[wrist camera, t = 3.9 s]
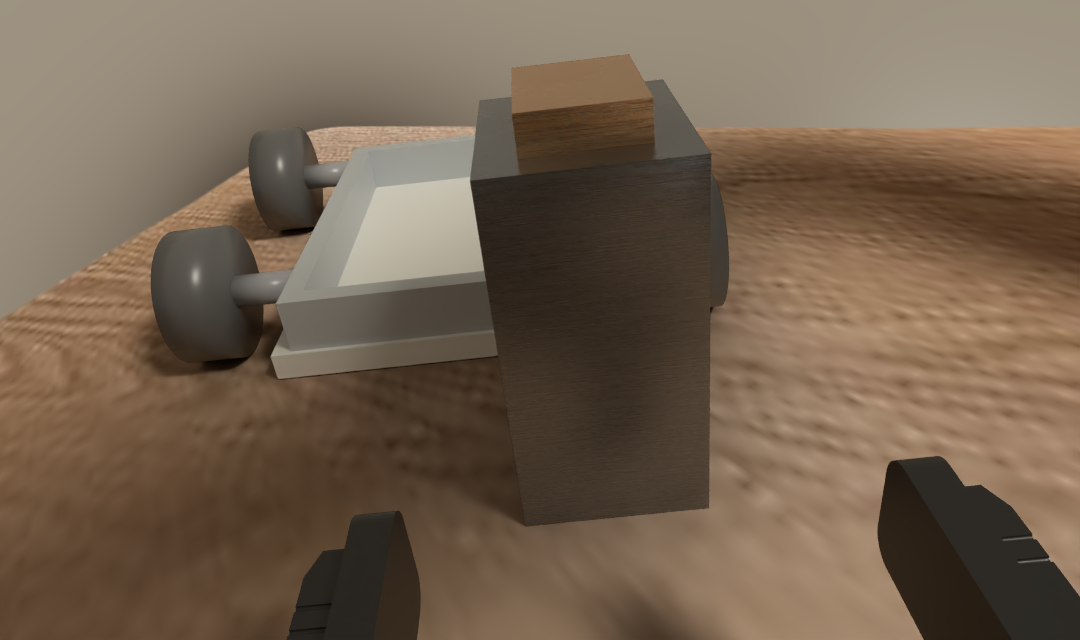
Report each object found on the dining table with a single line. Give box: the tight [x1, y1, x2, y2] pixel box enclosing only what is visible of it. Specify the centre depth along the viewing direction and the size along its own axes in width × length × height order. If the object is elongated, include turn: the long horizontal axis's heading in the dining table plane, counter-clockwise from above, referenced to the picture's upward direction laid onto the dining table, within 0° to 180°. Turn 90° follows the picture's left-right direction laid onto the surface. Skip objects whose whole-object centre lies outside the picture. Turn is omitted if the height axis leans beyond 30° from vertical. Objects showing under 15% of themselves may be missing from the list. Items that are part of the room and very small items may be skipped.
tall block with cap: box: [470, 54, 711, 526], centre depth 21 cm, size 5×6×11 cm
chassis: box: [151, 127, 729, 379], centre depth 35 cm, size 20×17×5 cm
